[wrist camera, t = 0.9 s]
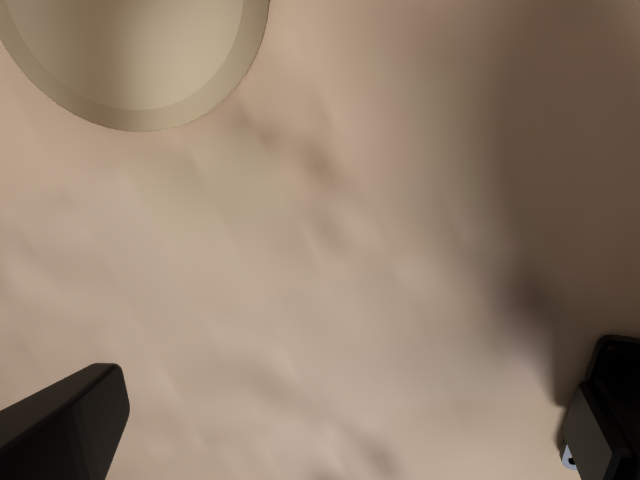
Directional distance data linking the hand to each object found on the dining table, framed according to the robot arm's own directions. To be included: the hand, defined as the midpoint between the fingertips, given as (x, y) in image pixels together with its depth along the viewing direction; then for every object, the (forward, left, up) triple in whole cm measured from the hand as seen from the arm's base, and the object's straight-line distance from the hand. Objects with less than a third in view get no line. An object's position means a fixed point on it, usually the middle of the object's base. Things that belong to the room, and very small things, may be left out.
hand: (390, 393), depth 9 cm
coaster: (+10, -5, -13) cm, 17 cm away
